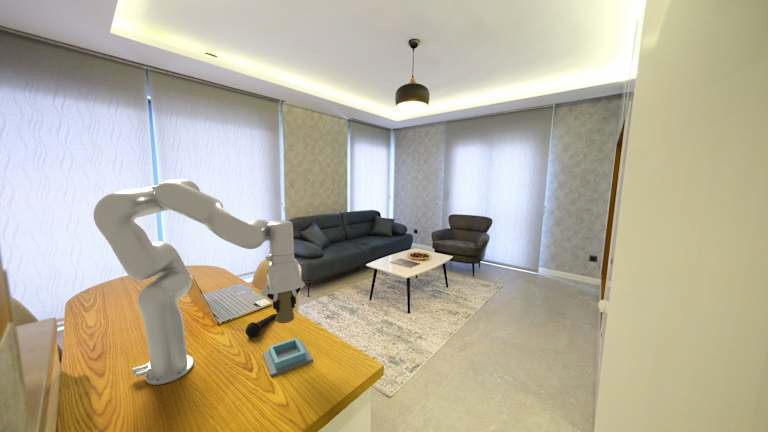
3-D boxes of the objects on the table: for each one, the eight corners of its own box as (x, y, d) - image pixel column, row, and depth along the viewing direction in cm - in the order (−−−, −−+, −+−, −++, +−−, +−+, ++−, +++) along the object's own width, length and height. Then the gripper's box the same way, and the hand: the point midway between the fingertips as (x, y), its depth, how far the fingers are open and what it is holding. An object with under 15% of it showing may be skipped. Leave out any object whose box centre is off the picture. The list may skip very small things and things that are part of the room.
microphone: (274, 320, 129) (244, 340, 109) (271, 308, 129) (240, 326, 109) (285, 318, 128) (256, 338, 108) (282, 306, 128) (252, 324, 108)
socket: (270, 376, 90) (270, 367, 89) (262, 354, 101) (262, 346, 100) (312, 360, 98) (312, 352, 97) (301, 341, 108) (300, 334, 108)
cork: (272, 320, 95) (270, 290, 93) (284, 312, 100) (283, 283, 99) (286, 324, 93) (284, 293, 91) (298, 316, 98) (297, 286, 96)
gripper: (257, 265, 85) (260, 320, 88) (311, 256, 94) (312, 306, 98) (252, 258, 91) (256, 310, 94) (303, 250, 101) (305, 298, 104)
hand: (284, 307), depth 96 cm, fingers closed on cork, 4 cm apart
